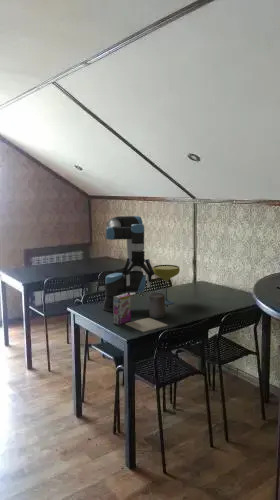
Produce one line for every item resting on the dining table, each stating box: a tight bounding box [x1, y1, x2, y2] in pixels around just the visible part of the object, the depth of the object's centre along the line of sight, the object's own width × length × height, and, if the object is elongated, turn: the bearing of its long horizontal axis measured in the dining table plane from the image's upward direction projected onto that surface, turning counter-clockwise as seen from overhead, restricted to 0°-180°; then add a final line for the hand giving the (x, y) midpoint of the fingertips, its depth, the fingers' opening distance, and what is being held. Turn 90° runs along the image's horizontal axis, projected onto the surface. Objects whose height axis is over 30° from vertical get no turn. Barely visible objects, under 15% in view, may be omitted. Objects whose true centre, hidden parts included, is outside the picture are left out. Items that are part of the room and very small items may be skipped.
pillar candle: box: [148, 292, 166, 319], centre depth 277 cm, size 10×10×15 cm
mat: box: [124, 317, 169, 333], centre depth 260 cm, size 18×18×1 cm
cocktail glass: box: [152, 264, 180, 306], centre depth 307 cm, size 18×18×25 cm
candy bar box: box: [112, 293, 132, 326], centre depth 265 cm, size 11×5×16 cm, turn 141°
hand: (138, 286), depth 263 cm, fingers open, 13 cm apart
